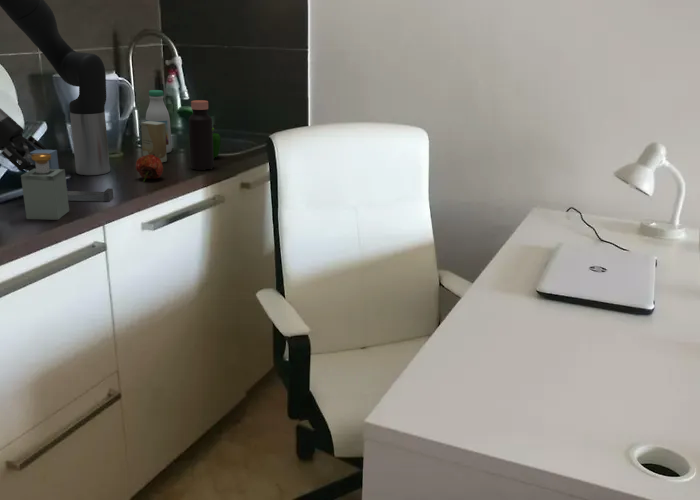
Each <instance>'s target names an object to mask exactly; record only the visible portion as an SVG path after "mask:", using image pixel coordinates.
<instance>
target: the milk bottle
mask: <svg viewBox="0 0 700 500" xmlns="http://www.w3.org/2000/svg"><path fill="white" fill-rule="evenodd" d="M148 96H149V103H148V107H147V109H146V111H145V112H146V113H145V122H146V121H155V122H162V123H165V126H166V154H168V153H171V152H172V150H173V149H172V147H173V146H172V131H171V130H172V129H171V128H172V127H171V119H170V113H169V110H168V109H167V107H166V104H165V101H164V98H165V94H164V91H163V90H160V89H150V90H148Z"/></svg>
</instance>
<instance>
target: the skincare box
mask: <svg viewBox="0 0 700 500" xmlns="http://www.w3.org/2000/svg"><path fill="white" fill-rule="evenodd" d="M140 128H141V146H142V147H141V148H142V149H141V150H142V156H145V155H149V154H150V155H153V154H155V157H158V158H159V159H160V160H161V162H162V163H164V162H168V161H167V160H168V157H167V156H168V155H167V154H168V153H166V126H165V123H162V122H155V121H146V120H145V121H141V122H140Z"/></svg>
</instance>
